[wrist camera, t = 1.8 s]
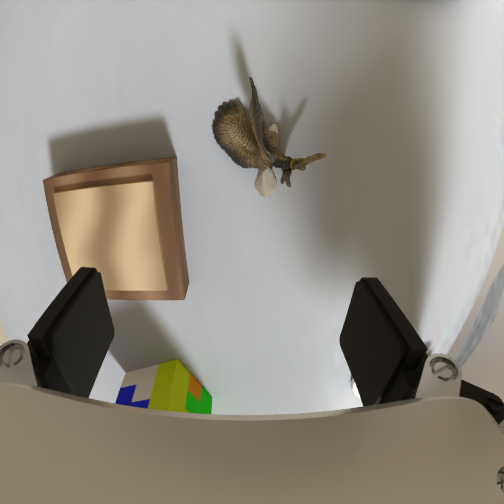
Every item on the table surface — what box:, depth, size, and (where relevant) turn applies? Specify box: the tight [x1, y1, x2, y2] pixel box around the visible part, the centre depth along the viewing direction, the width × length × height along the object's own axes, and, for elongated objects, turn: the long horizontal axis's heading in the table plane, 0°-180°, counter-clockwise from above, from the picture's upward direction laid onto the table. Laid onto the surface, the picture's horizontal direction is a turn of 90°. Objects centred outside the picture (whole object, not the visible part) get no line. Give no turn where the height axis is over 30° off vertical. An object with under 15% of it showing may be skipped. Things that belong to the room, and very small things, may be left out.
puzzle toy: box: [115, 359, 212, 414], centre depth 36 cm, size 10×10×10 cm
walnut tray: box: [43, 157, 189, 300], centre depth 28 cm, size 14×14×4 cm
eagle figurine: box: [213, 77, 326, 198], centre depth 24 cm, size 8×7×9 cm
